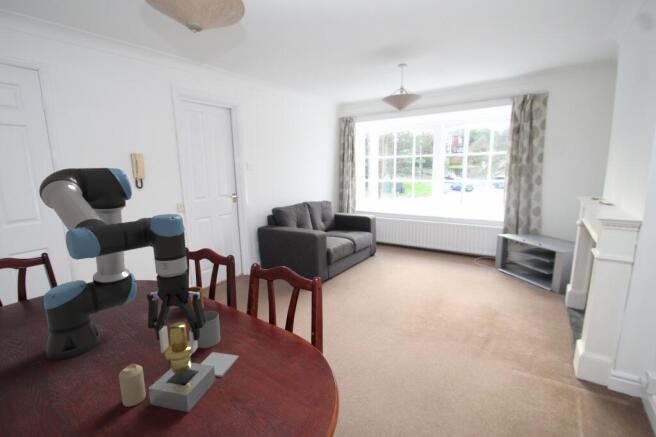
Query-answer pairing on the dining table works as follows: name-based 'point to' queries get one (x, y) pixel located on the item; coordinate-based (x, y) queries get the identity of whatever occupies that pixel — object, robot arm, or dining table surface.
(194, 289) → the mug
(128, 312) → the dining table surface
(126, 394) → the candle
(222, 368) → the mat
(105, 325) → the dining table surface
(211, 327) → the cup
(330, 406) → the dining table surface
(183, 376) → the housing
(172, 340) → the gold flanged shaft
